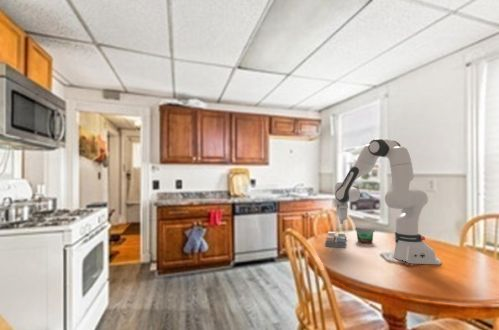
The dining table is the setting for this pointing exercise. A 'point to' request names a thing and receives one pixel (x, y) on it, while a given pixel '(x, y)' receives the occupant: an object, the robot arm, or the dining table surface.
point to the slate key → (341, 239)
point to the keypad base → (336, 243)
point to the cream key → (331, 234)
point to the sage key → (341, 234)
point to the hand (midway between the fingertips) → (341, 223)
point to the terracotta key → (330, 238)
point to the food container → (365, 235)
